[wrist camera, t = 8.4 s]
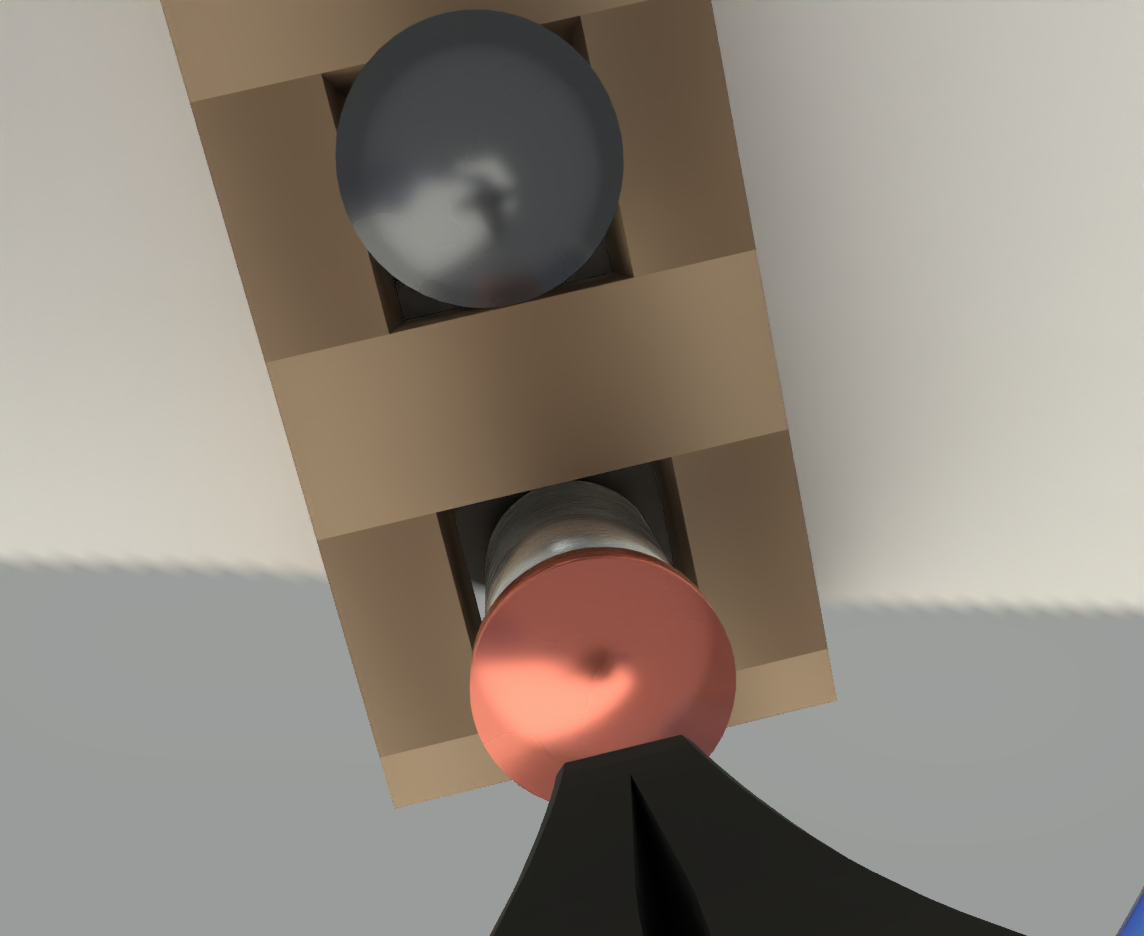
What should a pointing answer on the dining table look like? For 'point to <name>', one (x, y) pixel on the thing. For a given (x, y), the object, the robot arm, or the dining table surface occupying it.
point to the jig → (509, 359)
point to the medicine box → (1134, 919)
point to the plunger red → (590, 639)
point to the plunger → (479, 158)
